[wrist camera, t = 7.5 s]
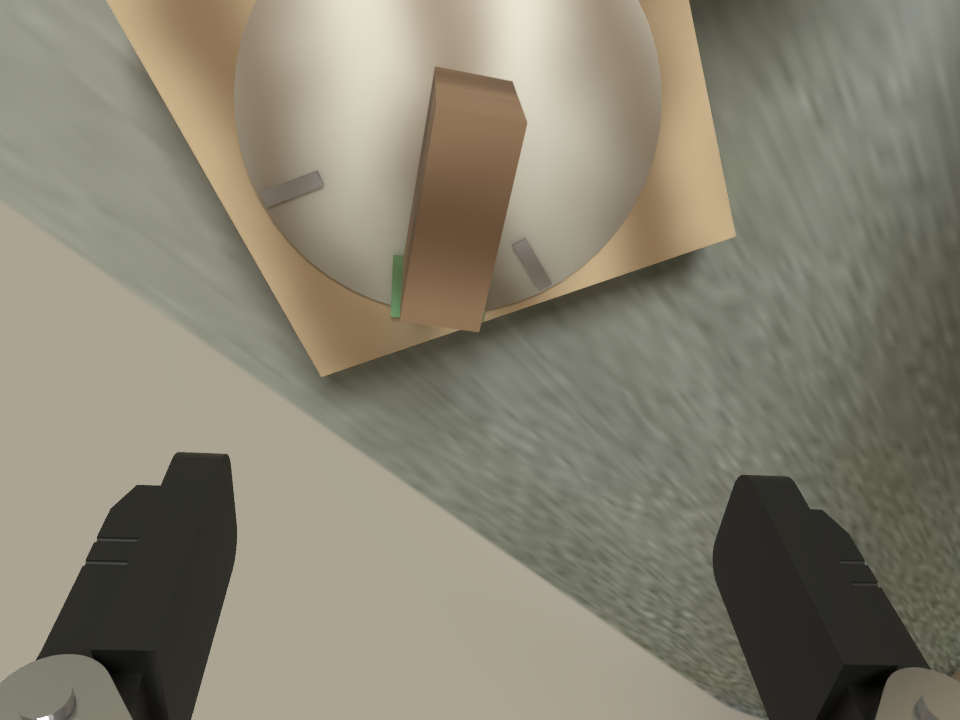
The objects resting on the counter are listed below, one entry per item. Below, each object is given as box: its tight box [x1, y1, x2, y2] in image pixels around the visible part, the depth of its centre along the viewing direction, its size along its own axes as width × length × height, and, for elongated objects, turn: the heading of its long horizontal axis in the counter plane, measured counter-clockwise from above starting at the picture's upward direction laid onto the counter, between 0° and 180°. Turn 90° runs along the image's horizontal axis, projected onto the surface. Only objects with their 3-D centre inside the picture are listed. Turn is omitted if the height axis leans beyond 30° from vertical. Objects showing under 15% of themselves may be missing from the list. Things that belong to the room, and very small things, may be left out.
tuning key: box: [400, 66, 527, 332], centre depth 27 cm, size 11×2×9 cm, turn 169°
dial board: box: [107, 0, 736, 377], centre depth 32 cm, size 19×17×4 cm
